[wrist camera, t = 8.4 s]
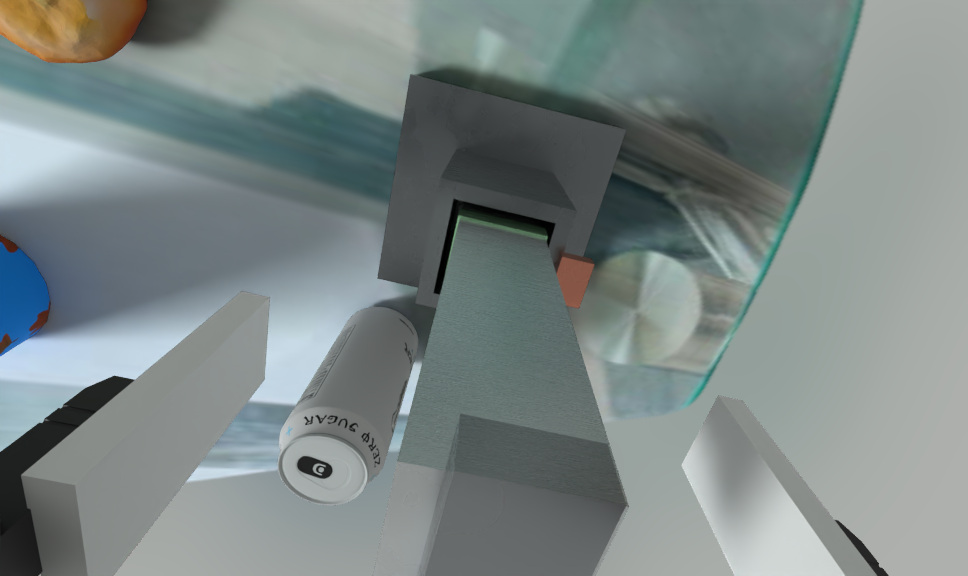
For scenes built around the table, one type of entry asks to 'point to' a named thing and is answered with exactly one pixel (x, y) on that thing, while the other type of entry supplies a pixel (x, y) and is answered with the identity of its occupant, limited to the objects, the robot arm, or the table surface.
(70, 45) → the fruit
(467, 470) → the column
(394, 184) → the stand base
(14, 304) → the thermos
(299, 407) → the energy drink can
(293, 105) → the table surface
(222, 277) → the table surface
